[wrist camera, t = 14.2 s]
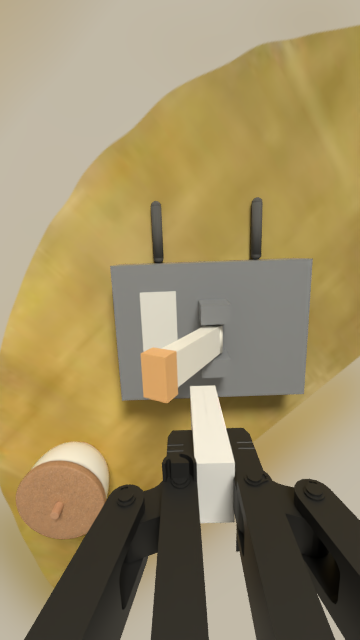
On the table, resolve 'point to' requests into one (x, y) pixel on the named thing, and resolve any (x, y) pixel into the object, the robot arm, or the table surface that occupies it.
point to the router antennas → (255, 230)
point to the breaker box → (217, 321)
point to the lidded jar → (64, 491)
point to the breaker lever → (179, 362)
